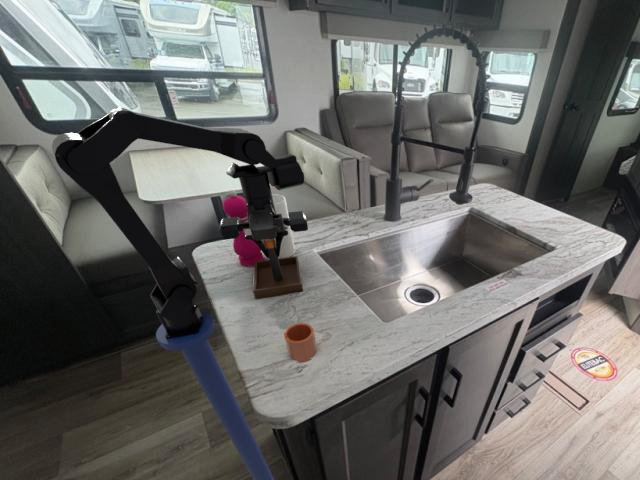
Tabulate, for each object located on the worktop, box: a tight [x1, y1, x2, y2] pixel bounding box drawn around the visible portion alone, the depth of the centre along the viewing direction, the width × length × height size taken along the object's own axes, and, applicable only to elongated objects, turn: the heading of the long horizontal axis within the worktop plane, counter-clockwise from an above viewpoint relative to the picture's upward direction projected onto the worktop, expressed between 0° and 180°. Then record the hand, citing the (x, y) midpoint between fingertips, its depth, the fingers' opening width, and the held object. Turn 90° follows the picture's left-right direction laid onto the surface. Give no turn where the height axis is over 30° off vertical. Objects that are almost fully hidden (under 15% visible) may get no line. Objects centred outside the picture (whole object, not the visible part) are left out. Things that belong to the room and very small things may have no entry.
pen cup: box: [283, 322, 318, 364], centre depth 62 cm, size 5×5×6 cm
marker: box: [264, 239, 283, 281], centre depth 80 cm, size 2×2×11 cm
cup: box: [272, 193, 296, 259], centre depth 91 cm, size 8×8×16 cm
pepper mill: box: [222, 190, 265, 267], centre depth 85 cm, size 7×7×20 cm
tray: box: [252, 255, 304, 300], centre depth 83 cm, size 11×14×2 cm
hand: (273, 256), depth 80 cm, fingers closed on marker, 2 cm apart
